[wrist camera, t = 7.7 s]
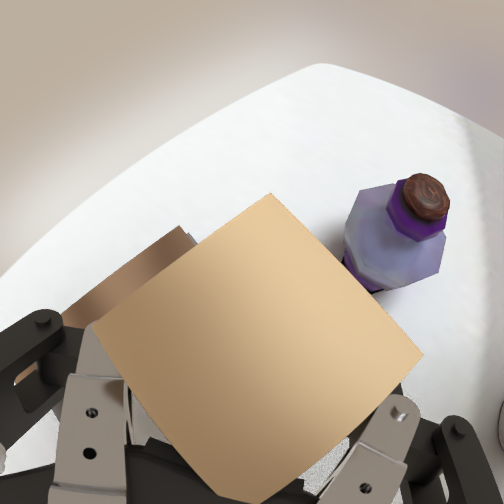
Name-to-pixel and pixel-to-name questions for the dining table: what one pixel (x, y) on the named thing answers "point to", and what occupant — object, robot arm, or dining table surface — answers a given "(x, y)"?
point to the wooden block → (256, 352)
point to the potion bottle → (396, 233)
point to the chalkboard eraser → (122, 286)
